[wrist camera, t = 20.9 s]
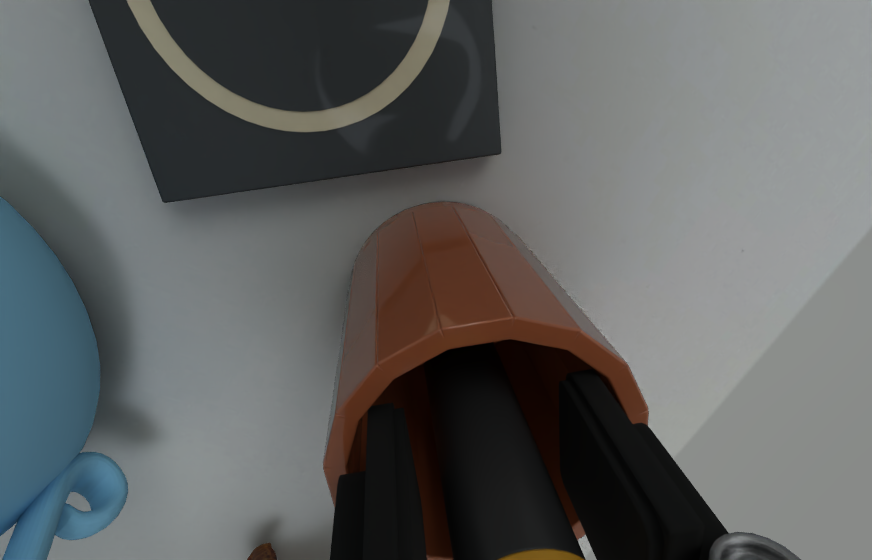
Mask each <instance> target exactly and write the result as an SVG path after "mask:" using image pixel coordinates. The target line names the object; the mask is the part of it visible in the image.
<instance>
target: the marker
mask: <svg viewBox="0 0 872 560" xmlns="http://www.w3.org/2000/svg"><path fill="white" fill-rule="evenodd" d="M423 365H424V371H425V378H426V384H427V391H428V397H429V404H430V411H431V417H432V424H433V430H434V437H435V443H436V450H437V457H438V463H439V470H440V476H441V483H442V489H443V496H444V502H445V509H446V516H447V522H448V529H449V535H450V542H451V548H452V555H453V560H585V557H584V555H583V553H582V550H581V548H580V546H579V543H578V541H577V539H576V536H575V534H574V532H573V529H572V527H571V524H570V522H569V520H568V517H567V515H566V513H565V510H564V508H563V506H562V503H561V501H560V499H559V496H558V494H557V491H556V489H555V487H554V484H553V482H552V480H551V477H550V475H549V473H548V470H547V468H546V466H545V463H544V461H543V459H542V456H541V454H540V451H539V449H538V447H537V444H536V442H535V440H534V437H533V435H532V433H531V430H530V428H529V426H528V423H527V421H526V418H525V416H524V414H523V411H522V409H521V407H520V404H519V402H518V400H517V397H516V395H515V393H514V390H513V388H512V386H511V383H510V381H509V378H508V376H507V374H506V371H505V369H504V367H503V364H502V362H501V360H500V357H499V355H498V353H497V350H496V348H495V345H494V343H493V342H491V343H485V344H479V345H473V346H467V347H461V348H455V349H449V350H447V351H445V352H443V353H441V354H439V355H437V356H436V357H434V358H432V359H430V360H428V361H426V362H425V363H423Z"/></svg>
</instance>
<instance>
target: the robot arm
mask: <svg viewBox="0 0 872 560" xmlns="http://www.w3.org/2000/svg"><path fill="white" fill-rule="evenodd" d="M559 449H560V473H561V478H562V481H563V484H564V487H565V489H566V491H567V493H568V496H569V498H570V500H571V502H572V505H573V507H574V509H575V511H576V514H577V516H578V518H579V520H580V523H581V525H582V527H583V529H584V532H585V534H586V536H587V539H588V541H589V543H590V545H591V548H592V550H593V552H594V554H595V556H596V559H597V560H801V559H800V558H799V557H797V556H796V555H795V554H794V553H792V552H791V551H790V550H788V549H787V548H786V547H784V546H783V545H781V544H779V543H777V542H775V541H773V540H771V539H769V538H766V537H763V536H760V535H756V534H753V533H745V532H734V533H728V532H727V530H726V529H725V528H724V526H723V525H722V524H721V522H720V521H719V520H718V518H717V517H716V516H715V514H714V513H713V512H712V510H711V509H710V508H709V506H708V505H707V504H706V502H705V501H704V500H703V498H702V497H701V496H700V494H699V493H698V492H697V491H696V489H695V488H694V486H693V485H692V484H691V482H690V481H689V480H688V479H687V477H686V476H685V475H684V473H683V472H682V470H681V469H680V468H679V466H678V465H677V464H676V462H675V461H674V460H673V458H672V457H671V456H670V454H669V453H668V452H667V450H666V449H665V448H664V446H663V445H662V444H661V442H660V441H659V440H658V438H657V437H656V436H655V434H654V433H653V432H652V430H651V429H650V428H649V427H648V426H647V425H646V424H644V423H642V422H641V423H635V424H632V422H631V421H630V420H629V418H628V417H627V415H626V414H625V413H624V411H623V410H622V408H621V407H620V406H619V404H618V403H617V401H616V400H615V399H614V397H613V396H612V394H611V393H610V392H609V390H608V389H607V387H606V386H605V385H604V383H603V382H602V380H601V379H600V378H599V376H598V375H597V373H596V372H595V371H594V370H593V369H588V370H582V371H576V372H571V373H567V375H566V380H563V381H560V382H559ZM330 560H427V555H426V545H425V534H424V524H423V513H422V504H421V497H420V491H419V486H418V481H417V475H416V470H415V465H414V460H413V454H412V449H411V444H410V438H409V433H408V428H407V423H406V417H405V412H404V408H397V409H395V408H394V404H393V402H392V403H386V404H380V405H374V406H371V407H370V408H369V409H368V418H367V446H366V471H361V472H355V473H349V474H344V475H340V476H339V479H338V484H337V494H336V503H335V513H334V523H333V533H332V543H331V552H330Z"/></svg>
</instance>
